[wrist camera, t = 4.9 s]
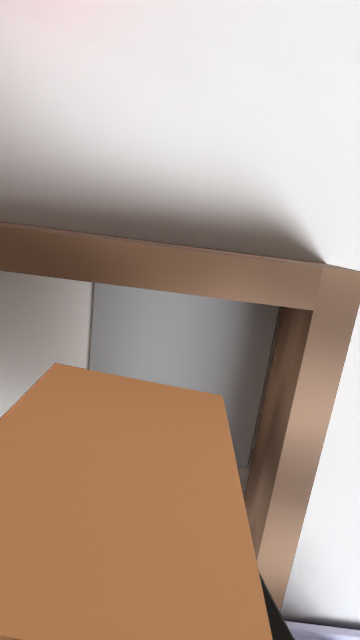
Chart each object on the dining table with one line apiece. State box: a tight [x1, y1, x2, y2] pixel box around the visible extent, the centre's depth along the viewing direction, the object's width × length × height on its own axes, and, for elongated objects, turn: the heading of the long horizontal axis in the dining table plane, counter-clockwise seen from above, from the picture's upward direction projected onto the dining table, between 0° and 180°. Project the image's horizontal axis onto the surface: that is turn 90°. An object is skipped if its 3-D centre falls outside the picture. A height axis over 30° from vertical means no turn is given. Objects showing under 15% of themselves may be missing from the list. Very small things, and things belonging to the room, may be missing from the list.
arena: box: [0, 222, 360, 611], centre depth 15 cm, size 17×17×4 cm
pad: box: [89, 283, 280, 468], centre depth 16 cm, size 9×8×1 cm
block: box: [0, 363, 273, 640], centre depth 7 cm, size 4×7×6 cm, turn 169°
